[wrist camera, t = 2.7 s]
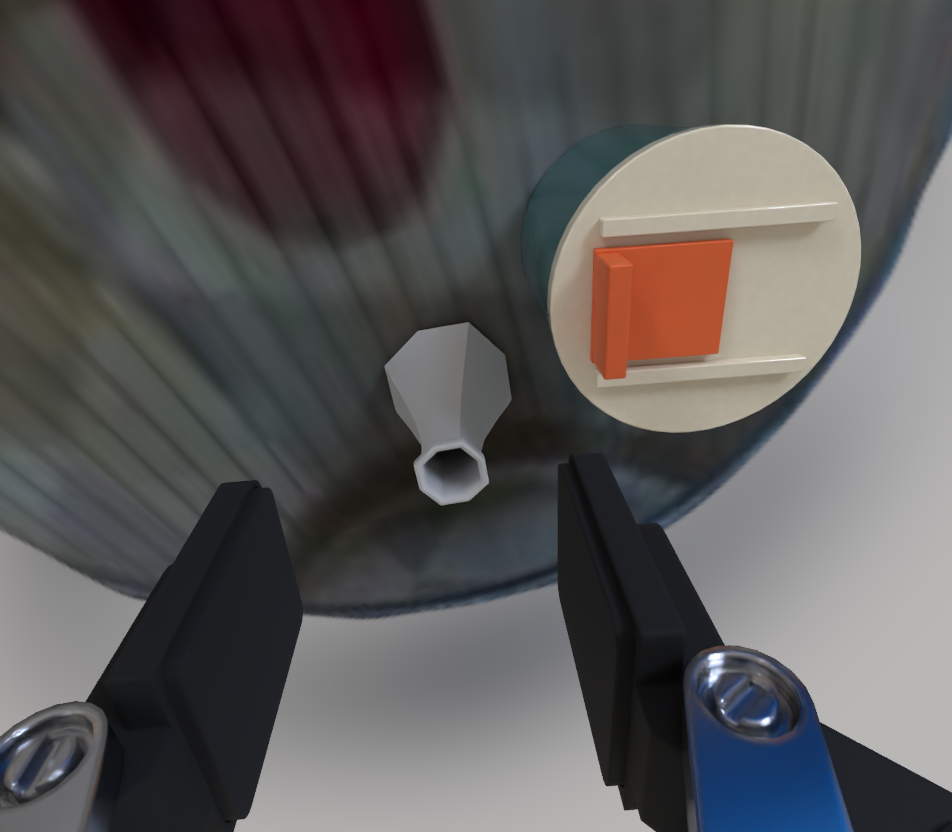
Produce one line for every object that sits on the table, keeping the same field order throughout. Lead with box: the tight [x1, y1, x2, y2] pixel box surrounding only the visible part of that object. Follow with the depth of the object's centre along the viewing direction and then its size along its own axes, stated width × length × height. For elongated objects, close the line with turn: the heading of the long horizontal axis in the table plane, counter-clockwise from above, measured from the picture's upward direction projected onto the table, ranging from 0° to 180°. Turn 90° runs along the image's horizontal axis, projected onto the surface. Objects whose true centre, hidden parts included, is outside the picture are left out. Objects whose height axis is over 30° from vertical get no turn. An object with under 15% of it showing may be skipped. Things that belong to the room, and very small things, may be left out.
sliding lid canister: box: [521, 124, 861, 432], centre depth 26 cm, size 11×11×11 cm
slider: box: [590, 238, 734, 380], centre depth 21 cm, size 5×4×2 cm
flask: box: [384, 322, 512, 505], centre depth 30 cm, size 7×7×10 cm
